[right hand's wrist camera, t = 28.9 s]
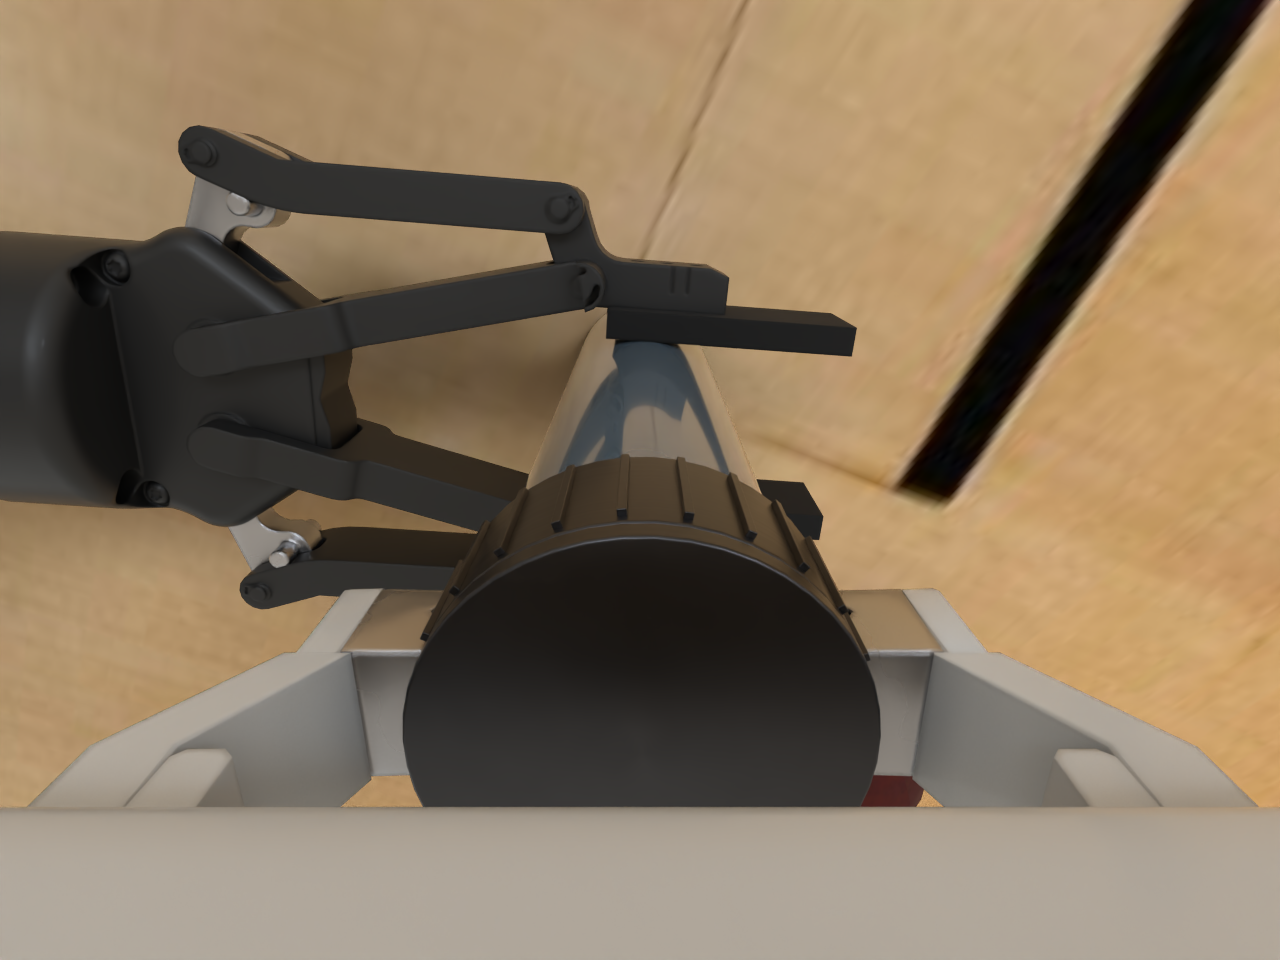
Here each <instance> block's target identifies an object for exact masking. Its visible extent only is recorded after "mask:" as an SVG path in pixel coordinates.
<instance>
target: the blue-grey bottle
mask: <svg viewBox="0 0 1280 960" xmlns="http://www.w3.org/2000/svg"><path fill="white" fill-rule="evenodd" d="M606 325H607V313H606V314H605V315H604V316H602V317H601V318H600V319H599V320H598V321H597V322H596V323H595V325H594V326H593V327H592V328H591V330H590V332H589V333H588V335H587V337H586V339H585V342H584V344H583V346H582V349H581V351H580V354H579V356H578V358H577V361H576V363H575V366H574V368H573V370H572V373H571V375H570V378H569V380H568V382H567V385H566V387H565V390H564V392H563V394H562V397H561V399H560V402H559V404H558V406H557V409H556V411H555V414H554V416H553V418H552V421H551V423H550V426H549V428H548V430H547V433H546V435H545V438H544V440H543V442H542V445H541V447H540V450H539V452H538V454H537V457H536V459H535V462H534V464H533V466H532V469H531V471H530V474H529V476H528V478H527V481H526V483H525V486H524V487H526V488H527V489H530V488H531V487H533V486H535V485H537V484H538V483H540V482H542V481H544V480H545V479H547V478H549V477H551V476H554V475H556V474H559V473H561V472H564V471H566V467H567V466H569V465H572V464H574V465H575V467H577V466H581V465H585V464H589V463H592V462H596V461H601V460H608V459H616V458H621V454H629V457H658V458H667V459H677V457H683V458H685V460H686V462H690V463H694V464H698V465H702V466H706V467H709V468H711V469H714V470H717V471H719V472H722V473H724V474H727V475H729V473H730V472H732V473H734V474H736V475H737V476H738V479H739V481H741V482H743V483H744V484H746V485H748V486H750V487H752V488H753V489H755V490H756V491H758V492H759V493H760V494H762V492H761V490H760V487H759V485H758V483H757V480H756V478H755V475H754V473H753V470H752V468H751V466H750V463H749V461H748V458H747V456H746V454H745V451H744V449H743V446H742V444H741V442H740V439H739V437H738V434H737V432H736V429H735V427H734V425H733V422H732V420H731V417H730V415H729V413H728V410H727V408H726V405H725V403H724V401H723V398H722V396H721V393H720V391H719V388H718V386H717V384H716V381H715V379H714V376H713V374H712V372H711V369H710V367H709V364H708V362H707V360H706V357H705V355H704V352H703V350H702V347H701V346H699V345H686V344H672V343H658V342H644V341H630V340H616V339H606Z"/></svg>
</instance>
